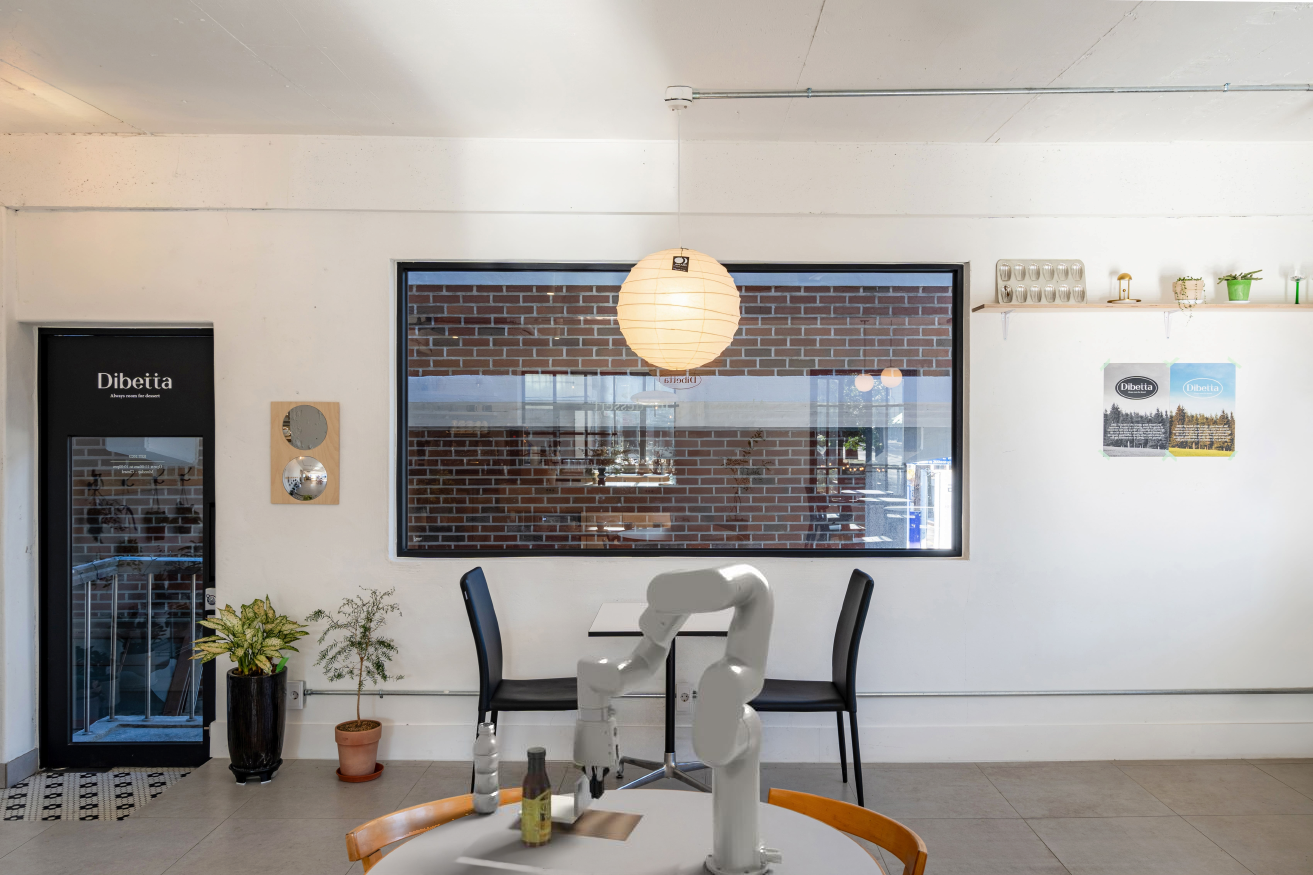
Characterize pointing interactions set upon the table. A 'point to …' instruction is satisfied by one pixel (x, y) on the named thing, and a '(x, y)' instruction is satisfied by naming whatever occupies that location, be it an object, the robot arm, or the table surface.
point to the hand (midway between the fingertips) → (597, 796)
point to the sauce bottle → (536, 801)
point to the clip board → (599, 825)
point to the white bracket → (570, 804)
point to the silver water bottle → (486, 770)
